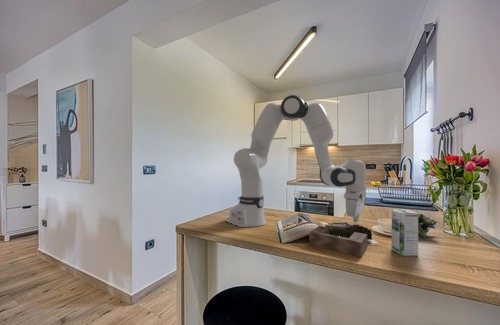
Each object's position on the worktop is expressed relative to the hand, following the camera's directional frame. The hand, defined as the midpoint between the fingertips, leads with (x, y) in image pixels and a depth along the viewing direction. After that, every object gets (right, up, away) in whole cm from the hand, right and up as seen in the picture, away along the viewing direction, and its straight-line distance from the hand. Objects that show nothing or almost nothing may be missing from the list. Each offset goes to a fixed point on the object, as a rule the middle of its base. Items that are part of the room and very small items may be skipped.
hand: (356, 221), depth 104 cm
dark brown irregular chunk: (-10, -3, -14) cm, 17 cm away
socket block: (-18, -3, -23) cm, 30 cm away
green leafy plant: (+20, -3, -13) cm, 24 cm away
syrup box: (+2, -3, -29) cm, 30 cm away
